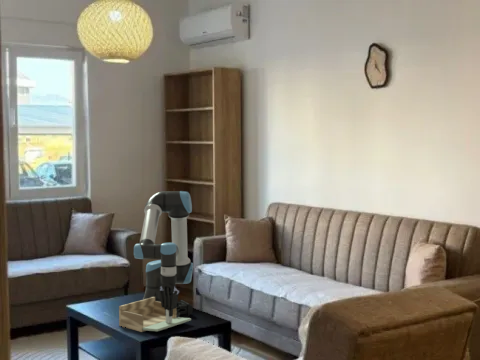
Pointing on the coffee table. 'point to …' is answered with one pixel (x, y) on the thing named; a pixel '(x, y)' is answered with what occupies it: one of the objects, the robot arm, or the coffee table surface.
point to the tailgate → (166, 324)
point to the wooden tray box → (142, 314)
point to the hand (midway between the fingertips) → (169, 322)
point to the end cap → (183, 309)
